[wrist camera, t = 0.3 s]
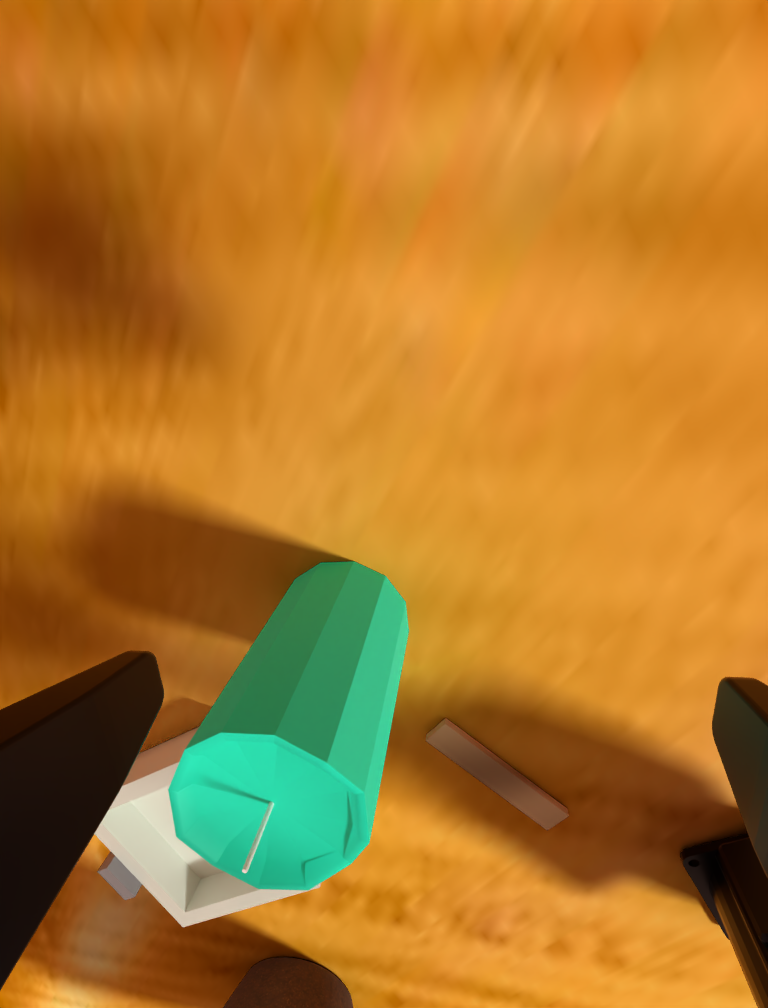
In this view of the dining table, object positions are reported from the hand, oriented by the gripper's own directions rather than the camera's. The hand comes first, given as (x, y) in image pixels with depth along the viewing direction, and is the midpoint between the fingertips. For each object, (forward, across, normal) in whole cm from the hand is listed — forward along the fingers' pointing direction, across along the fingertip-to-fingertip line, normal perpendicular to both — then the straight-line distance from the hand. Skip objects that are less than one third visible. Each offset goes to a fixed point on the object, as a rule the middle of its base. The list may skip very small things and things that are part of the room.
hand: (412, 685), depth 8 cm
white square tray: (+14, +14, +20) cm, 28 cm away
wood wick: (+14, -2, +16) cm, 22 cm away
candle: (+14, +5, +8) cm, 17 cm away
